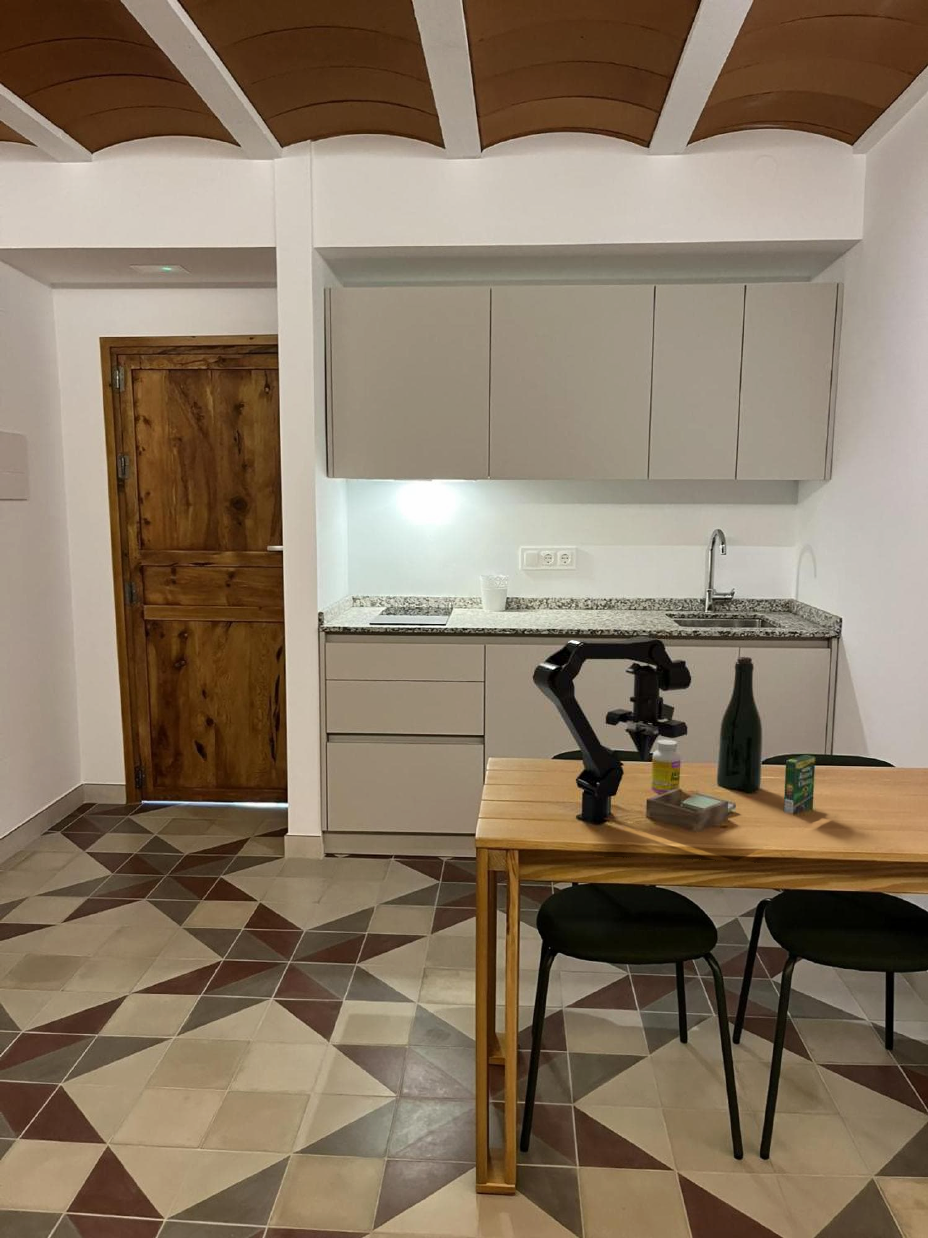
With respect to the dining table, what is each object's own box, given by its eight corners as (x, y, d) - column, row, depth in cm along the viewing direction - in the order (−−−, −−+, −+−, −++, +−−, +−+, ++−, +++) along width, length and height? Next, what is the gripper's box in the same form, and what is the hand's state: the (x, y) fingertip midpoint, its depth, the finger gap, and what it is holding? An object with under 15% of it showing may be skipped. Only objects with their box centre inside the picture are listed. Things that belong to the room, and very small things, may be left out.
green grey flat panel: (721, 813, 201) (735, 803, 205) (681, 802, 208) (696, 792, 212) (721, 817, 201) (735, 807, 205) (682, 806, 208) (696, 797, 212)
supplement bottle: (671, 799, 216) (674, 747, 215) (646, 794, 220) (648, 742, 219) (683, 792, 222) (685, 741, 220) (658, 787, 226) (660, 737, 224)
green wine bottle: (755, 797, 219) (762, 662, 214) (711, 790, 224) (717, 658, 220) (764, 786, 228) (771, 656, 224) (722, 779, 233) (727, 652, 229)
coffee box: (793, 819, 204) (796, 762, 202) (781, 815, 206) (784, 759, 204) (813, 812, 208) (816, 756, 207) (802, 809, 211) (805, 753, 209)
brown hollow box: (697, 836, 192) (698, 814, 191) (645, 821, 201) (646, 799, 201) (727, 823, 200) (728, 801, 200) (676, 809, 210) (677, 788, 209)
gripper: (702, 694, 203) (699, 762, 205) (633, 682, 217) (631, 746, 219) (674, 701, 196) (671, 771, 198) (604, 688, 209) (603, 754, 211)
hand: (644, 760), depth 207 cm, fingers closed
